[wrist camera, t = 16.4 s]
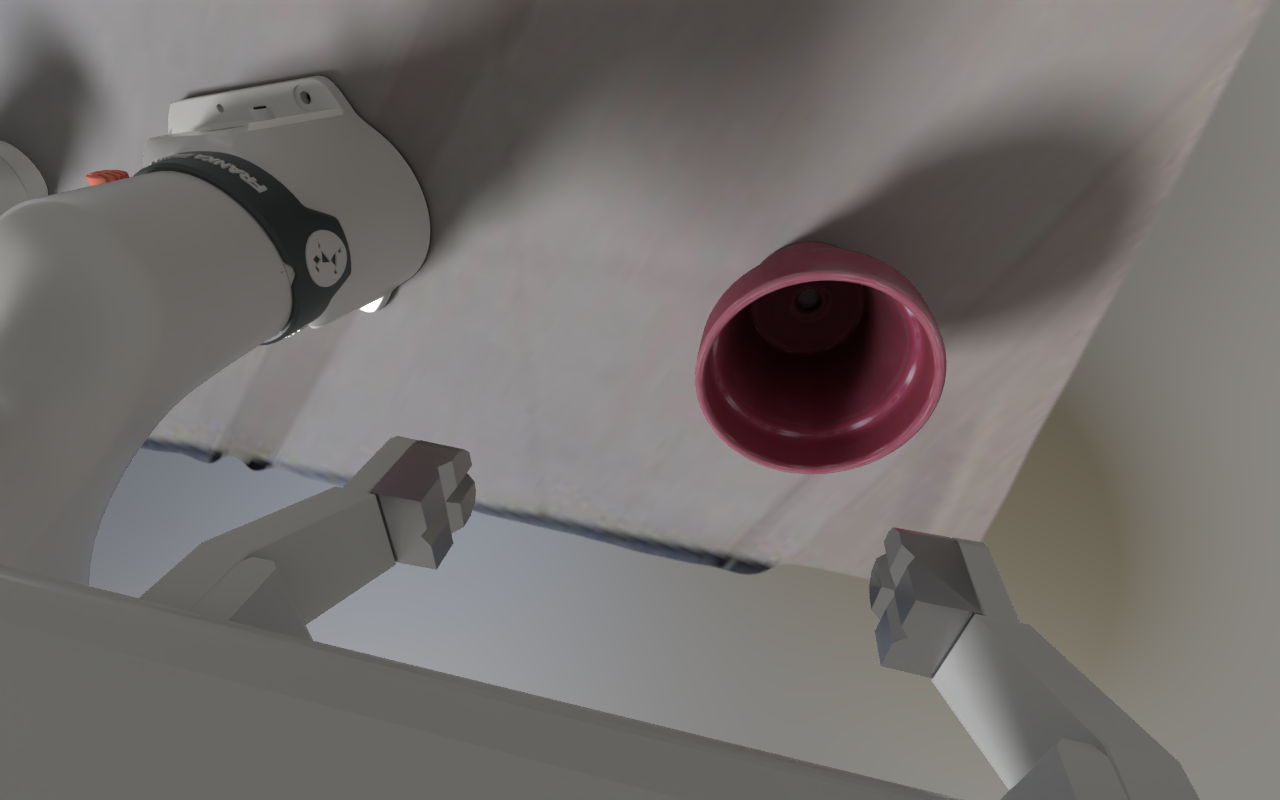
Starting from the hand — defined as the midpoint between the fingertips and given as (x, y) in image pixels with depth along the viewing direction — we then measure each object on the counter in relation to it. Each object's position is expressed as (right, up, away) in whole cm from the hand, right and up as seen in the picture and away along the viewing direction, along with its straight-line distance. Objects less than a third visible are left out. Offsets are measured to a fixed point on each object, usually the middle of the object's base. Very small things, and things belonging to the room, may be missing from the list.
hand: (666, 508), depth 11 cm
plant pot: (+12, +10, +32) cm, 36 cm away
